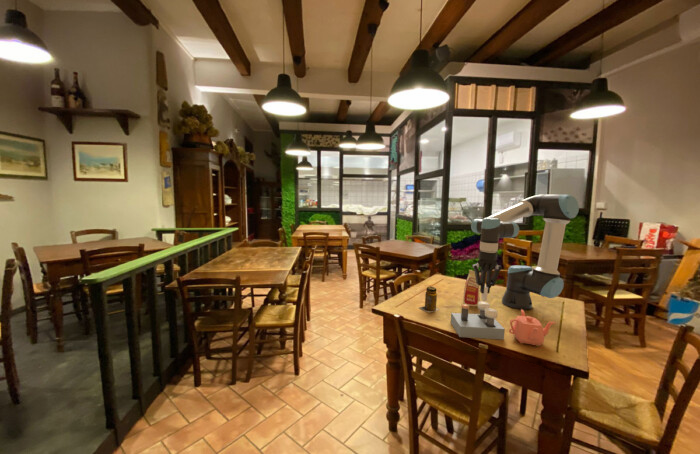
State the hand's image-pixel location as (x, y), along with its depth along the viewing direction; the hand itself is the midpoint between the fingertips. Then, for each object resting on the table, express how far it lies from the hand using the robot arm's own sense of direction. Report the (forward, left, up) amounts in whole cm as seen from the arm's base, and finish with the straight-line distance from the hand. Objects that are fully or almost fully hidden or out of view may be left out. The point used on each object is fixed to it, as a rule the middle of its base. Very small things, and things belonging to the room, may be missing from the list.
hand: (484, 299), depth 129 cm
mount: (+4, +4, -14) cm, 15 cm away
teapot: (-16, +11, -14) cm, 24 cm away
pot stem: (+10, +4, -9) cm, 14 cm away
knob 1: (0, 0, -10) cm, 10 cm away
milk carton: (-6, -30, -14) cm, 34 cm away
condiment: (+21, -18, -14) cm, 31 cm away
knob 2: (0, +8, -10) cm, 12 cm away
